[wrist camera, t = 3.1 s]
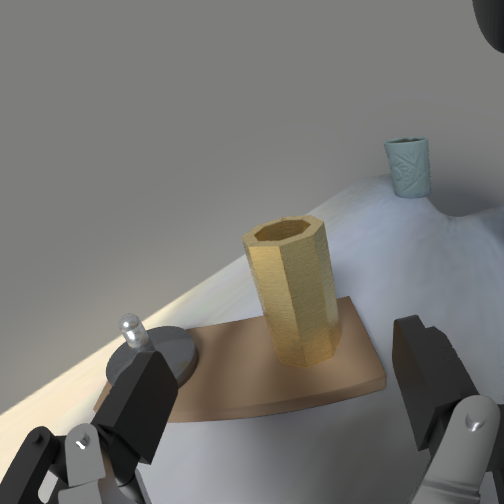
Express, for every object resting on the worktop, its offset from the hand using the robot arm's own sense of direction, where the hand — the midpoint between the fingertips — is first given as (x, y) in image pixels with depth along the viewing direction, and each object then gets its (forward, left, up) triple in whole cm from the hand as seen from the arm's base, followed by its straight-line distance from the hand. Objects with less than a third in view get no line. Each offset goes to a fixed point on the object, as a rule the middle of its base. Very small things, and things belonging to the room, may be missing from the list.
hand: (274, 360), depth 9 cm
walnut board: (+3, -12, -11) cm, 17 cm away
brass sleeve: (-4, -11, -9) cm, 15 cm away
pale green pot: (-44, -41, -11) cm, 61 cm away
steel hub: (+9, -14, -9) cm, 20 cm away
